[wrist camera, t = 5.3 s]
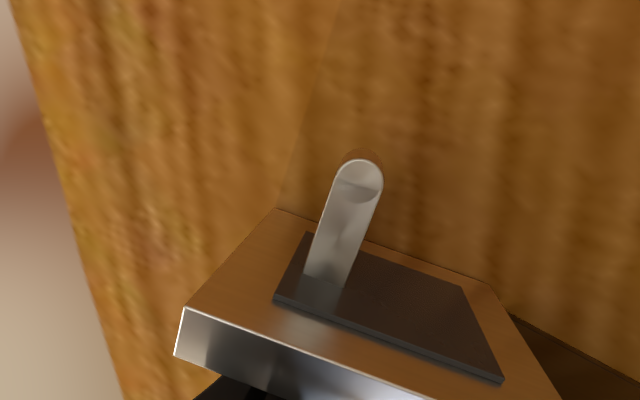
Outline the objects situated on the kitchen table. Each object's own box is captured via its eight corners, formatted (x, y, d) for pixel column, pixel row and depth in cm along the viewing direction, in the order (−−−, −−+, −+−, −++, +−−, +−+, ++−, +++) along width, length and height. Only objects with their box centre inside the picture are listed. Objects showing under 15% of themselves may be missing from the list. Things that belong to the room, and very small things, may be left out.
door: (300, 116, 14) (220, 132, 7) (538, 197, 13) (737, 313, 6) (265, 237, 16) (171, 356, 8) (473, 313, 15) (566, 509, 8)
